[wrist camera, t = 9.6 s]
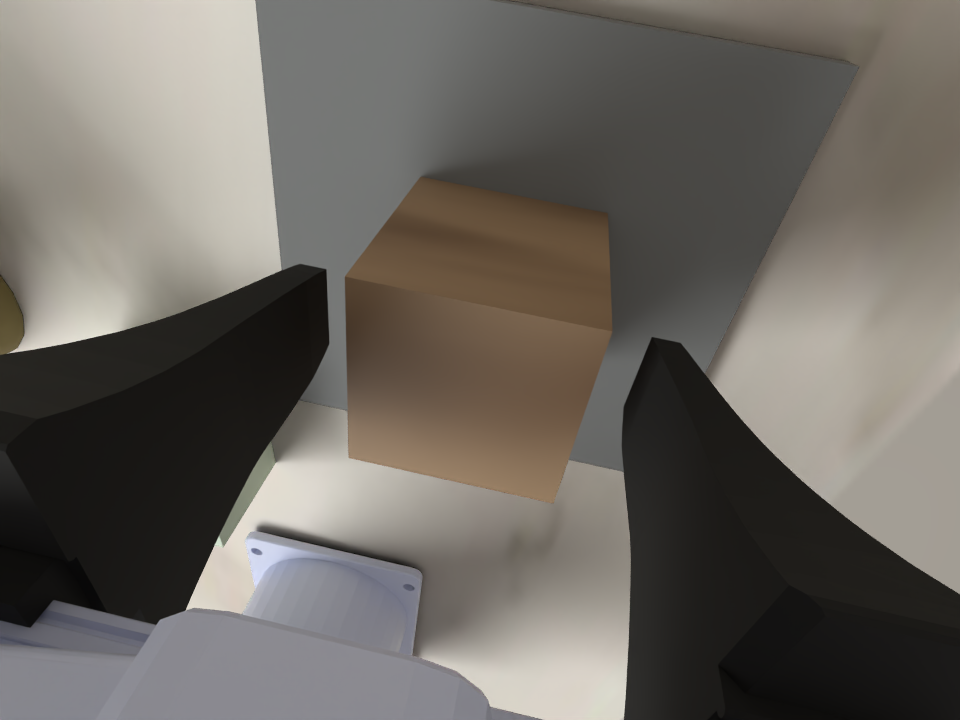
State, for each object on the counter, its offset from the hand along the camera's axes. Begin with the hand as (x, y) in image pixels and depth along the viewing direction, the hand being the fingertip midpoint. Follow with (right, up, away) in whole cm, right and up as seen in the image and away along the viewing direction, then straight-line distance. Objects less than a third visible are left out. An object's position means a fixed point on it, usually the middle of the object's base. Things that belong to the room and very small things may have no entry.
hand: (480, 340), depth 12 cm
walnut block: (0, +2, +2) cm, 3 cm away
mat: (+1, +2, +3) cm, 3 cm away
